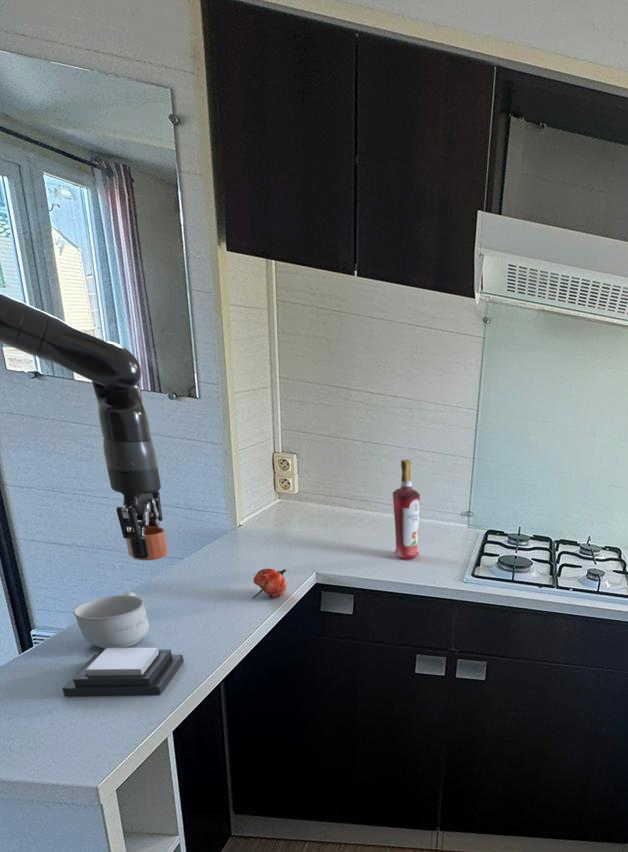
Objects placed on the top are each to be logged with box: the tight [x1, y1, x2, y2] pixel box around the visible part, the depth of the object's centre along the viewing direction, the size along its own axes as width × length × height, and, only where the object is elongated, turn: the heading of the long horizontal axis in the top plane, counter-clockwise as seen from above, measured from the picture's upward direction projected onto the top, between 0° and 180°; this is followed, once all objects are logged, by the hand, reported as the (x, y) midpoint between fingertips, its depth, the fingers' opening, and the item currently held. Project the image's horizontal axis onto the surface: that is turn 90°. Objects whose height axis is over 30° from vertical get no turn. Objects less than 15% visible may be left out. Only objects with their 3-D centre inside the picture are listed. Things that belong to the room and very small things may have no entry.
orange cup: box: [125, 526, 169, 561], centre depth 120 cm, size 6×6×5 cm
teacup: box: [73, 591, 150, 649], centre depth 121 cm, size 14×11×8 cm
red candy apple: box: [251, 568, 288, 600], centre depth 147 cm, size 7×7×10 cm
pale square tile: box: [86, 647, 159, 676], centre depth 110 cm, size 8×8×2 cm
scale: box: [62, 648, 184, 697], centre depth 111 cm, size 14×12×3 cm
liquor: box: [392, 459, 421, 561], centre depth 178 cm, size 7×7×28 cm
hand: (148, 551), depth 120 cm, fingers closed on orange cup, 6 cm apart
